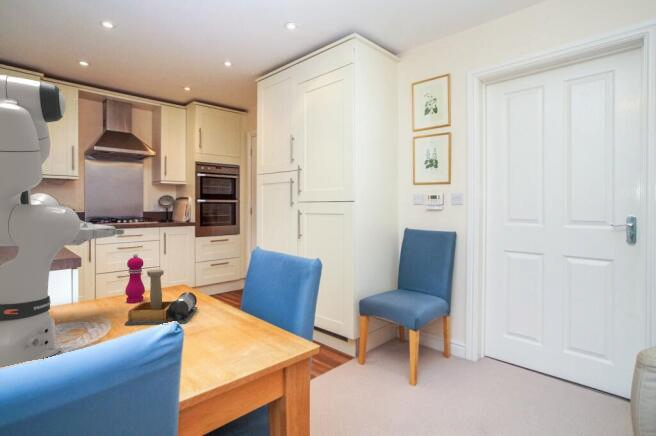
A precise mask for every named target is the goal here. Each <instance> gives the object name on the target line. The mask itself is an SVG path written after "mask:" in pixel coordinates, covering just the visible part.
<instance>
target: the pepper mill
mask: <svg viewBox="0 0 656 436" xmlns="http://www.w3.org/2000/svg"><path fill="white" fill-rule="evenodd" d="M138 256H139V254H137V253H133V255H132V257H131V258H129V259H128V260H127V263H126V266H127V268H128V274H129V279H128V283H127V284H126V287H125V290H124V291H125V292H124V293H125V296H126V301H125V302H126V303H127V304H137V303H136V302H139V303H141V302H140V301H142V302H144V299H145V298H144V294H145V292H146V288H145V285H144V283H143V280H142V273H143V266H144V260H143V259H142V258H141V257H138Z"/></svg>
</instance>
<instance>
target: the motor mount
mask: <svg viewBox="0 0 656 436" xmlns="http://www.w3.org/2000/svg"><path fill="white" fill-rule="evenodd" d="M197 302H198V299H197V296H196V295H195V294H194V293H193V292H190V291H186V292H183V293H181V294H180V295H179V297H178V298H177V299H176V300H166V301H165V300H164V301H163V300H162V306H161V310H152V308H151V303H150V301H142V302H139V304H137V305H135V306H134V307H132V308H130V309H129V310H128V311H127V320H126V321H125V322H124V326H126V327H127V326H152V325H153V326H157V325H158V326H159V324H162V325H164V324H163V323H168V322H172V321H177V322H178V323H180V324H179V325H184V324H187V323H188V321H189V320H190V319H191V318H192V316H193V315H194V314H195V313H196V311H197V310H198V306H196V305H197Z"/></svg>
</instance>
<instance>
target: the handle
mask: <svg viewBox="0 0 656 436" xmlns="http://www.w3.org/2000/svg"><path fill="white" fill-rule="evenodd" d="M163 275H164V270H163V269H149V270H147V271H146V276H148V277H149V278H150V279H149V280H150V288H149V289H150V290H149V299H150V300H149V302H150V303H151V308H152V310H161V306H162V301H163V292H162V290H163V289H162V280H161V277H162V276H163Z"/></svg>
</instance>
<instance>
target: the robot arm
mask: <svg viewBox="0 0 656 436" xmlns="http://www.w3.org/2000/svg"><path fill="white" fill-rule="evenodd" d="M66 105H67V104H66V100H65V96H64V95H63V93H62V91H61V89H60V87H58V86H57V85H56V84H54V83H51V82H49V81H45V80H41V81H38V80H33V79H30V78H29V79H28V78H24V77H18V76H10V75H8V74H0V247H18V251H17V252H18V253H17V254H16V256H15V258H14V259H10V260H8V261H6V262H4V263H2V264H1V265H0V367H5V366H10V365H14V364H19V363H23V362H26V361H32V360H38V359H43V358H45V359H47V358H46V357H48V358H49V357H52V356H53V355H56V354H58V353H59V351H60V352H62V346H60V345H58V344H57V336H56V333H57V332H56V326H55V325H56V324H55V319H54V318H52V315H51V314H50V312H49V311H50V310H51V297H50V295H49V280H50V278H49V277H50V271H51V266H52V264H53V261H54V259H55V257H56V256H57V255H58V253H59V252H60V251H61V250H62V249H63V248H64V247H66V246H80V245H82V244H84V243H87V242H88V241H89V242H90V241H92V240H95V239H103V238H110V237H115V236H117V235H121V236H122V235H124V234H125V229H118V228H116V227H115V226H114V225H106V224H105V225H103V224H95V223H94V224H93V223H92V222H86V221H83V220H81V219H80V218H79V217H80V216H79V215H78V214H77V212H76V211H75V210H74V209H72V208H70V207H66V206H61V203H60V202H59V201H58V199H57V198H56V197H54V196H53V195H50V194H47V193H44V192H35V193H33V194H31V189H33V188H36V187H37V186H39V184H40V183H41V182H42V180H43V177H44V174H43V164H44V163H45V162H46V160H47V159H48V158H49V156H50V152H51V139H50V138H51V137H50V131H49V126H48V123H54V122H59V121H60V120H61V119H62V118H63V117H64V114H65V112H66V108H67V107H66ZM43 360H44V359H43Z"/></svg>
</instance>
